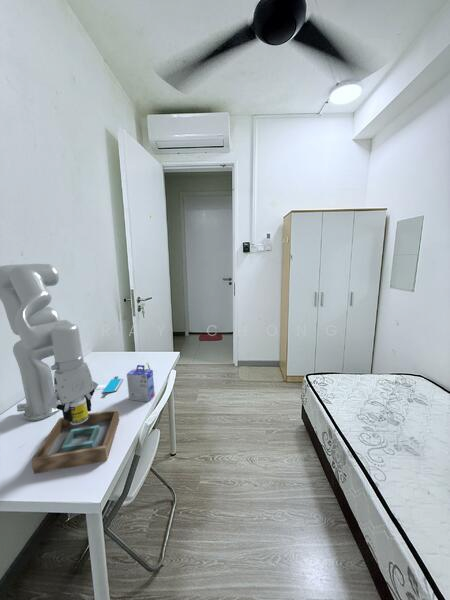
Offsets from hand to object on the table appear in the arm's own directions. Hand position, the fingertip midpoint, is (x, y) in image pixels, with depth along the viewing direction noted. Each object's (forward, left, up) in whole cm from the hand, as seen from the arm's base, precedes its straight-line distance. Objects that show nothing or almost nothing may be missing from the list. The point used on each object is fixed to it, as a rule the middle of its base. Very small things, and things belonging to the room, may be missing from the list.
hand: (78, 414), depth 85 cm
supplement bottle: (0, 0, -2) cm, 2 cm away
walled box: (0, 0, -11) cm, 11 cm away
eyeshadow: (+16, +50, -11) cm, 54 cm away
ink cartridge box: (+17, +24, -11) cm, 31 cm away
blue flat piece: (0, +39, -12) cm, 40 cm away
